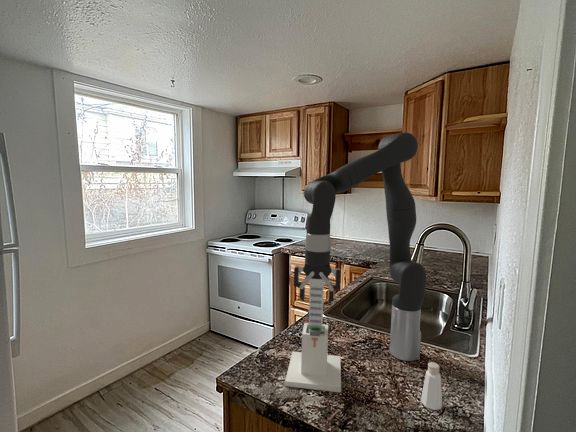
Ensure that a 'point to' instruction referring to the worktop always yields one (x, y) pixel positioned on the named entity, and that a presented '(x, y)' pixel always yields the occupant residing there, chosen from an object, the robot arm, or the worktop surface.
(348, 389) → the worktop surface
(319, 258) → the robot arm
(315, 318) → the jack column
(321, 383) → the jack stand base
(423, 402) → the pepper shaker
